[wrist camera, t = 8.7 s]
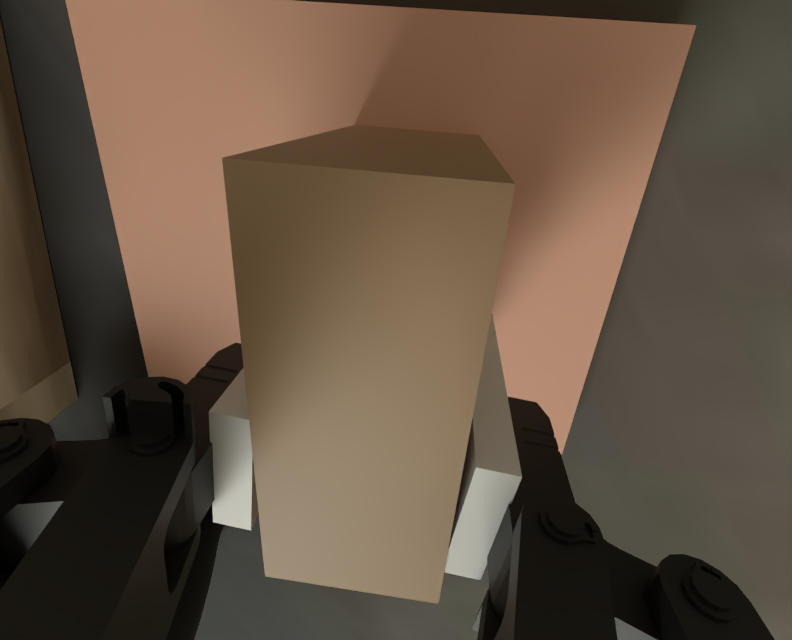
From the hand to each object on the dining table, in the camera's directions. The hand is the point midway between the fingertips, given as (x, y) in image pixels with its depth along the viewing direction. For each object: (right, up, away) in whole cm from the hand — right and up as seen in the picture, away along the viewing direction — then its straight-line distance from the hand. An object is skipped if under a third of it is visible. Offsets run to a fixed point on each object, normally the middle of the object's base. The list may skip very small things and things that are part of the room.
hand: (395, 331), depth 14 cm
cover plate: (-1, +3, +2) cm, 4 cm away
